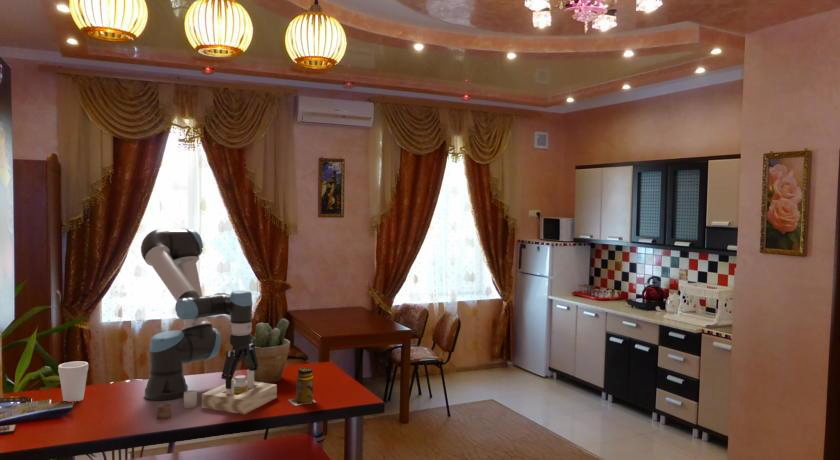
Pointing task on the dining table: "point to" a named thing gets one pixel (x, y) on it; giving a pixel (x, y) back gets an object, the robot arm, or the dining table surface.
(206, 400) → the board
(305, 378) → the condiment
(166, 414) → the walnut dowel short
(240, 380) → the supplement bottle
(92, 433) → the dining table surface
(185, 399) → the pale grey block
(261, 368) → the potted plant
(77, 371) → the foam cup
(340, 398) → the dining table surface
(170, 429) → the dining table surface
